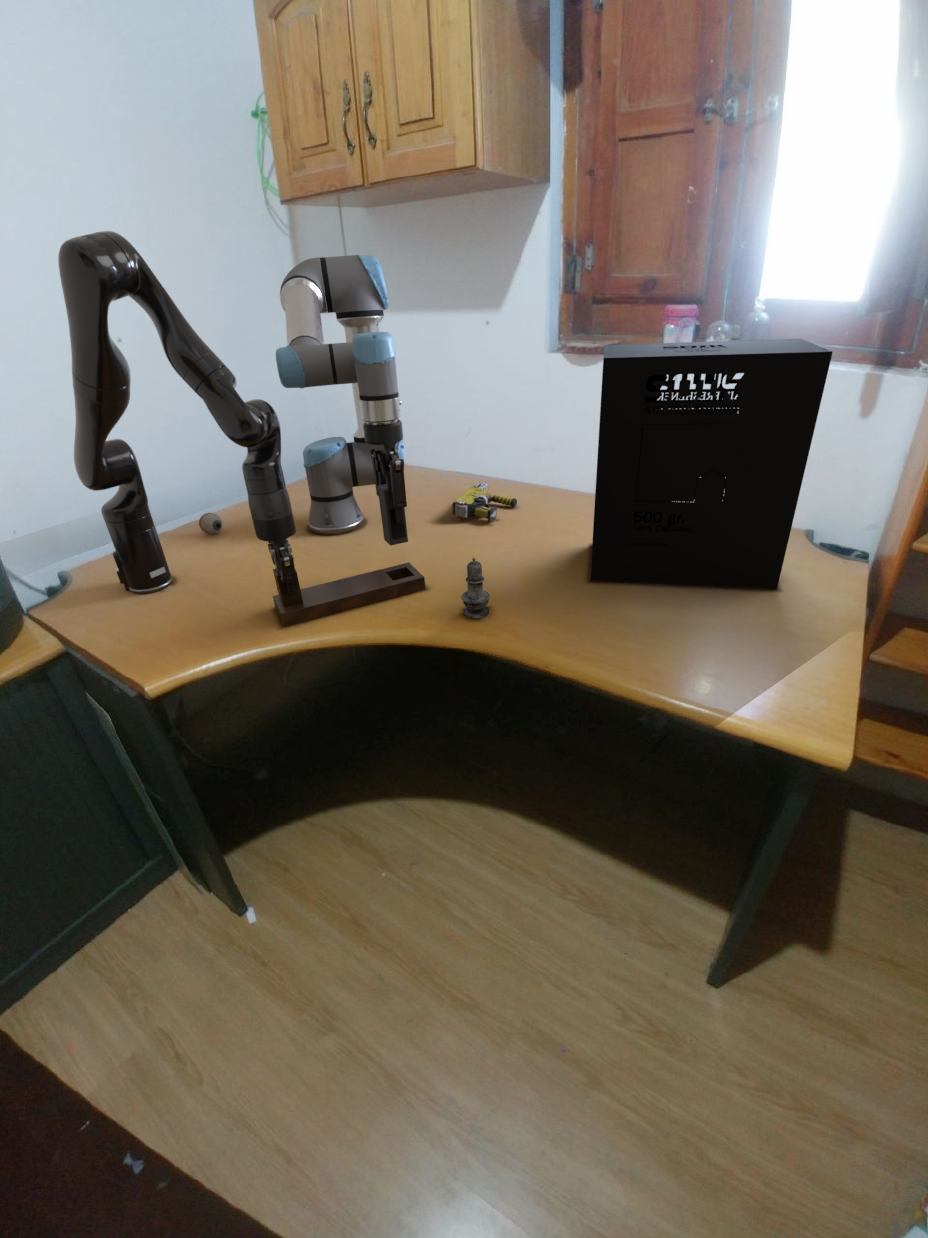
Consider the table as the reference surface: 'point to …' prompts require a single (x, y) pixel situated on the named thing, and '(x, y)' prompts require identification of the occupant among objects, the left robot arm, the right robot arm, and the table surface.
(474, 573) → the grey chess piece
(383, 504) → the grey peg
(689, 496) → the cardboard box
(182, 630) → the table surface
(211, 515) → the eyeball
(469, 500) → the toy gun
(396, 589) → the walnut plank
